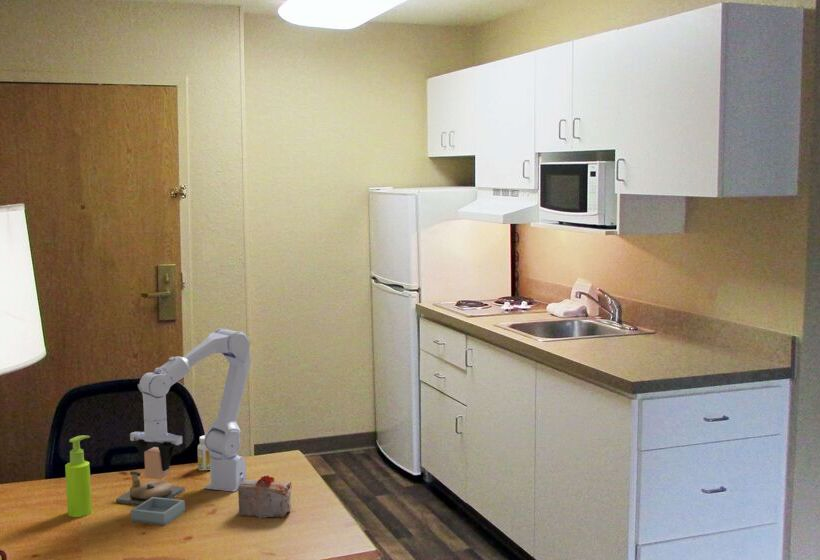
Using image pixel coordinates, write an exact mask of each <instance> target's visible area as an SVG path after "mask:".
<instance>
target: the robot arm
mask: <svg viewBox="0 0 820 560" xmlns="http://www.w3.org/2000/svg"><path fill="white" fill-rule="evenodd" d="M250 347H251V340H250V338H249V337H248V336H247V334H246V333H244V332H243V331H238V330H237V331H236V330H231V329H227V328H226V327H225V328H224V327H220V328H219V327H218V328H217V329H216V330H215V331H214V332H211V333H209V334H208V336H207V338H205V339H204V340H203V341H201V342H200V343H198V344H197V345H196V346H195V347H194V348H193V349H191V350H190V351H189V352H187V353H185V355H183V356H177V355H176V356H171V357H169V358H168V361H166V363H164V364H162V365H161V366H159V367H156V368H154V371H153V372H146V373H145V374H143V375H142V377H141V379H139V383H137V388H138V390H139V392H140V393H141V394H142V401H143V403H142V405H143V422H144V423H143V425H144V426H143V427H144V430H143V431H134V432H133V431H132V432H130V433H129V439H130V441H131V442H135V441H138V442H137V443H136V444H135V448H136V449H137V451H138V453H140V456H141V458H142V460H143V463H144V465H145V458H144V452H145V451H147V450H149V449H151V448H153V447H154V445H155V443H159V444H160V443H161V444H160V445H158V446H157V447H158V448H159V451H160V454H161V460H162V470H163V471H166V470H168V469H169V465H171V460H172V457H173V455H174V454H173V453H174V451H175V449H176V448H177V446H179V445H182V444H183V436H182V435H176V434H174V433H169V432H168V421H167V419H168V418H167V417H168V415H167V399H166V398H167V396H166V395H167V394H168V393H169V391H170V389H171V387H172V386H173V385H174V384H176V383H177V382H179V381H180V380H182V379H183V378H184V377H186V376H188V375H189V373H190V369H191V367H193V366H195V365H196V364H198V363H200V362H201V361H203V360H204V359H206V358H208V357H209V356H211V355H213V354H214V353H215V354H222V355H223V357H224V358H225V359H226V361H227V362H228V363H229V365H228V370H227V375H226V379H225V383H224V388H223V391H222V396H221V400H220V404H219V409H218V414H217V418H216V419H215V420H213V422H211V423H210V426H209V428H208V431H207V433H206V434H204V435H205V438H204V444H205V447H206V448H207V449H208V450H209V454H210V471H209V473H210V474H209V475H210V476H209V477H210V482H209V483H208V484H206V485H205V486H204V489H207V490H213V491H215V490H216V491H225V492H236V491H238V487H239V485H240V484H241V483H242V482H243V481H244V480H247V468H246V459H245V457H243V456H241V455H238V453H239V451H240V449H241V444H242V443H241V433H242V431H241V428H240V427H239V425H238V423H237V422H238V419H239V414H240V410H241V405H242V400H243V397H244V392H245V387H246V383H247V379H248V375H249V371H250V366H251V361H252V360H251V354H250V352H251V351H250Z"/></svg>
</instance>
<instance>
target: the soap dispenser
mask: <svg viewBox="0 0 820 560" xmlns="http://www.w3.org/2000/svg"><path fill="white" fill-rule="evenodd" d="M89 438H91V436H90V435H83V434H82V435H77V436H75V437H72V438H70V439H69V440H68V441H69V442H68V443H72V449H71V450H69V462H68V463H66V464H65V466H64V467H65V469H64V470H65V471H64V472H65V487H66V489H65V490H66V505H67V506H66V507H67V516H68V515H69V516H68V517H70V516H71V517H70V518H83V517H85V515H86V516H89V515H91V514H92V512H93V507H92V505H93V504H92V487H91V486H92V485H91V468H90V462H89V461H87V460H85V452H84V451H85V450H84V449H83V448H81V444H80V443H81V441H82V440H85V439H89ZM82 516H83V517H82Z"/></svg>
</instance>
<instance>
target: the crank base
mask: <svg viewBox="0 0 820 560" xmlns="http://www.w3.org/2000/svg"><path fill="white" fill-rule="evenodd" d="M183 491H184V492H185V491H186V487H185V486H177V485H172V491H171V492H170V493H169V494H167V495H165V496H162V497H159V498H167V499H172V498H173V499H174V498H176V497H177V496H178V495H180V494H182V493H183ZM175 496H176V497H175ZM146 500H148V499H137V498H133V497H131V496H130V490H129V491H127V492H126V493H123V494H122V495H120V496H118V497H116V498H115V503H116V502H119V503H118V504H125V503H127V504H126V505H136V506H138V505H140V504H141V503H143V502H145V501H146Z"/></svg>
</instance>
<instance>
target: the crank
mask: <svg viewBox="0 0 820 560" xmlns="http://www.w3.org/2000/svg"><path fill="white" fill-rule="evenodd" d="M141 473H142V472H141V471H133V470H132V471H130V473H129V474H130V476H131V480H132V481H131V482H132V486H130V488H129V491H130V496H131V497H133V498H137V499H150V498H151V497H158V498H159V497H162V496H165V495H167V494H169V493H170V492H171V491H172V486H173V485H172V484H171V483H170V482H168V481H164V480H148V481H142V482H141V475H142V474H141Z"/></svg>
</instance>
